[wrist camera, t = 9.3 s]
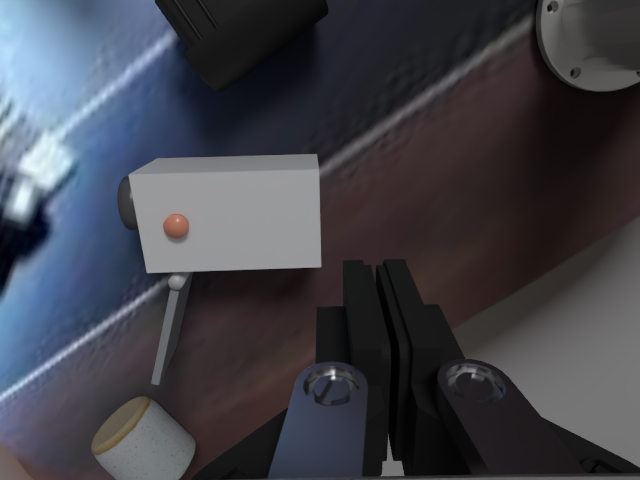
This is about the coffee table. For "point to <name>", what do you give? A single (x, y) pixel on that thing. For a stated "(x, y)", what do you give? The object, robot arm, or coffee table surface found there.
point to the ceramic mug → (143, 443)
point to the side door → (172, 322)
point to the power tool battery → (237, 32)
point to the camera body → (225, 212)
